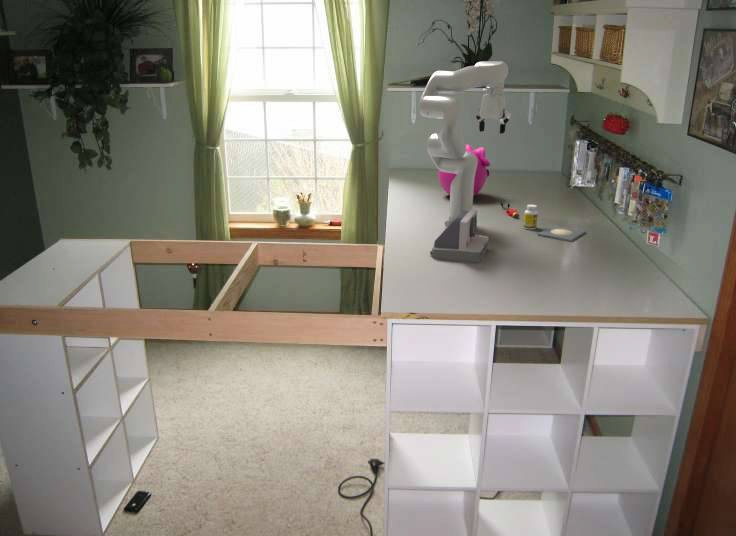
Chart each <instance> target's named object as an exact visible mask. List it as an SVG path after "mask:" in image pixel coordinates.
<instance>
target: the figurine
mask: <svg viewBox="0 0 736 536" xmlns="http://www.w3.org/2000/svg"><path fill="white" fill-rule="evenodd" d="M465 145H466V151H467V152H471V153H473V154H474V155H475V156H476V157H477V160H478V163H477V168H476V172H475V178H474V189H473V197H474V196H475V195H477V194H479V193H480V192H481V191H482V189H483V188H484V187H485V184H486V181H487V177H489V176H490V170H489V169H487V167H490V166H491V163H490V162H489V160H488V159H487V157H486V149H485V148H484V147H482V146H480V147H478V148H475V149H472V146H471V145H470V144H467V143H465ZM456 175H457V174H454V173H448V172H442V171H440V170H439V169H438V180H439V181H438V182H439V184H440V186H441V187H440V188H441V189H442V190H443V191H444V192H445V193H446V194H447V195H449V196H450V190H451V183H452V181H453V180H454V178H455V177H456Z"/></svg>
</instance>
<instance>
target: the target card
mask: <svg viewBox="0 0 736 536" xmlns="http://www.w3.org/2000/svg"><path fill="white" fill-rule="evenodd" d="M586 231H587V230H583V229H577V228H572V227H566V226H561V225H555V224H553V225H551V226H549V227H547V228H545V229H543V230H542V231H540V232H538V233H537V236H539V237H543V238H549V239H555V240H561V241H565V242H569V243H572V242H574V241H575V240H576V239H577V238H579V237H581V236H582V235H584V234H586Z"/></svg>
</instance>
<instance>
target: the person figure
mask: <svg viewBox="0 0 736 536" xmlns="http://www.w3.org/2000/svg"><path fill="white" fill-rule="evenodd" d="M500 206H501V208H502V209H504V212H505V214H506V215H507V216H509V217H512V218H513V219H515V218H517V219H518V218H519V213H518V211H517V209H516V208H515V207H514V208H511V207H510V206H511V205H510V203H508V204H507V207H506V206H504V203H503V202H501V203H500Z"/></svg>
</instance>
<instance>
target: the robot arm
mask: <svg viewBox="0 0 736 536" xmlns="http://www.w3.org/2000/svg"><path fill="white" fill-rule="evenodd" d="M508 74H509V67H508V64H507V63H506V62H505V61H500V60H497V61H496V60H495V61H494V60H492V61H491V60H490V61H487V60H486V61H485V60H483V61H478V62H476V63H475V65H469V66H465V67H463V68H460V69H457V70H437V71H435V72H434V73H433V74H432V75H431V76H430V78H429V80H428V81H427V84H426V85H425V88H424V90H423V92H422V94H421V96H420V99H419V101H418V107H417V108H418V113H419V114H420V115H421V116H422V117H424V118H428V119H440V120H442V122H441V123H440V124H439V126H438V127H437V130H436V132H434V133H432V134H431V135H430V136H429V137H428V140H427V142H426V150H427V154H428V156H429V157H430V159H431V160H432V162H433V164H434V165H435V167H436V169H437V170H438V171H439V170H440V171H442V172H448V173H454V174H457V175H456V177H455V178H454V180H453V181H452V183H451V190H450V195H449V213H448V214H449V215H448V220H445V221H444V225H445V227H446V228H447V227H448V226H449V225H450V223H451V222H452V221H453V220H454V219H455V218H456V217H457V216H458V215H459V214H460V213H461V212H462V211H470V210H473V205H474V204H473V202H474V196H473V189H474V178H475V172H476V168H477V163H478V160H477V157H476V156H475V155H474V154H473V153H471V152H467V151H466V143H465V141H464V138H463V136H462V135H461V133H460V131H459V129H458V127H459V122H460V117H461V112H462V104H461V102H460V100H459V99H457V98H456V97H454V96H448V95H447V96H446V95H440V94H450V95H458V94H461V93H464V92H466V91H469V90H471V89H475V88H482V87H483V88H482V92H485V94H483V96H482V99H481V104H480V108H479V109H477V110H475V111H474V115H475V118H476V120H477V122H478V123H479V125H478V129H479V132H485V125H486V124H485V123H486V122H485V120H497V121H498V120H499V122H500V125H499V134H500V135H503V134H505V131H506V127H507V126H506V124H507V123H508V122H509V121H510V120H511V118H512V117H513V114H512V113H511V112H510V111H508V110H507V109H506V108H507V107H506V105H507V104H506V96H505V94H504V91H505V87H504V86H505V80H506V78H507V76H508ZM484 87H485V88H484ZM506 116H507V117H506Z"/></svg>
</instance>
